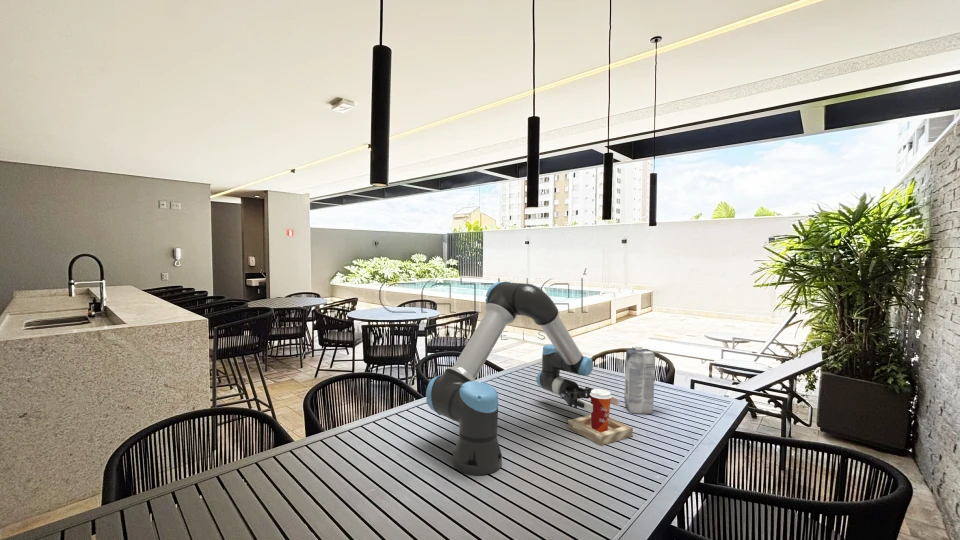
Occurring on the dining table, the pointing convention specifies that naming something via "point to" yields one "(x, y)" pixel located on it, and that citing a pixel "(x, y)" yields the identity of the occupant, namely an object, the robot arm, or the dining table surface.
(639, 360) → the juice carton
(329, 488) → the dining table surface
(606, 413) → the paper cup
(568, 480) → the dining table surface
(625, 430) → the tray
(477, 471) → the robot arm
